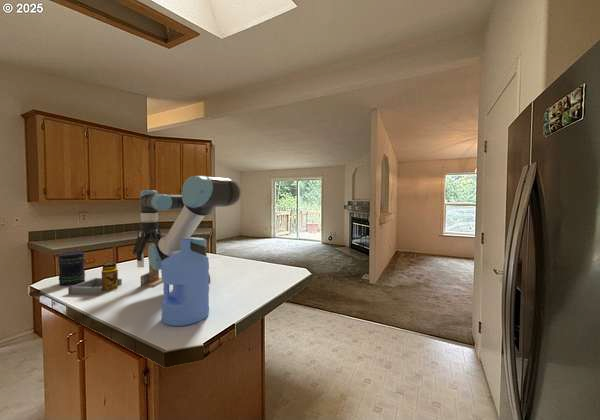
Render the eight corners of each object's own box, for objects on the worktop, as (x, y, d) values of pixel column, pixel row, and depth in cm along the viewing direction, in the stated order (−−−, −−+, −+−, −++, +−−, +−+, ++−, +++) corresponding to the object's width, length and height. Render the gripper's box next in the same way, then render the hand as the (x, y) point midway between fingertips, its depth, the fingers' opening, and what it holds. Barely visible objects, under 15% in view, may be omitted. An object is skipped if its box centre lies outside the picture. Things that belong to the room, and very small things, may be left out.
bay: (121, 284, 127) (121, 278, 127) (97, 295, 113) (96, 288, 113) (95, 283, 128) (95, 277, 128) (68, 294, 114) (68, 287, 114)
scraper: (166, 280, 135) (166, 251, 134) (154, 286, 125) (154, 255, 124) (153, 279, 135) (153, 251, 134) (140, 286, 125) (140, 255, 125)
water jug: (200, 304, 104) (199, 235, 103) (216, 318, 92) (215, 239, 91) (156, 315, 94) (155, 238, 93) (168, 332, 82) (167, 244, 81)
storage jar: (54, 284, 126) (53, 254, 126) (77, 279, 135) (77, 250, 135) (66, 287, 123) (65, 256, 122) (89, 281, 132) (89, 252, 131)
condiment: (115, 290, 119) (115, 264, 118) (93, 292, 116) (93, 266, 116) (121, 285, 126) (120, 261, 125) (100, 287, 123) (100, 262, 123)
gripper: (157, 219, 141) (158, 257, 142) (123, 223, 117) (124, 270, 117) (171, 219, 141) (171, 258, 142) (139, 223, 116) (139, 270, 117)
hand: (150, 263), depth 130 cm, fingers open, 13 cm apart
